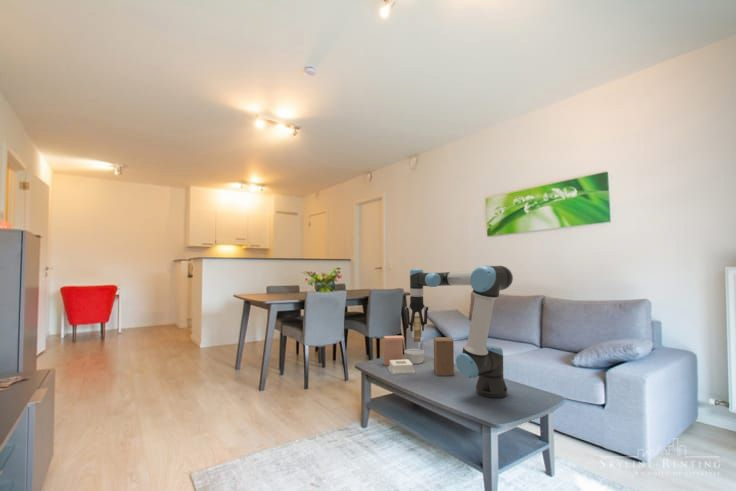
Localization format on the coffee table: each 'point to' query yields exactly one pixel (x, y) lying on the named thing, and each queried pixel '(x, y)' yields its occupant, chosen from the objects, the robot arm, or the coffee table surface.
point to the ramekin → (414, 355)
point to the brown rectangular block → (393, 348)
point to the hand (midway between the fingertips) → (417, 336)
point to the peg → (417, 329)
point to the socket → (400, 367)
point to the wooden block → (443, 356)
